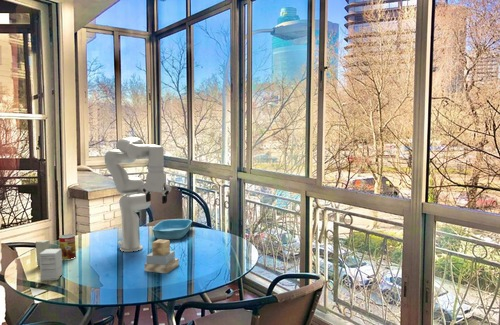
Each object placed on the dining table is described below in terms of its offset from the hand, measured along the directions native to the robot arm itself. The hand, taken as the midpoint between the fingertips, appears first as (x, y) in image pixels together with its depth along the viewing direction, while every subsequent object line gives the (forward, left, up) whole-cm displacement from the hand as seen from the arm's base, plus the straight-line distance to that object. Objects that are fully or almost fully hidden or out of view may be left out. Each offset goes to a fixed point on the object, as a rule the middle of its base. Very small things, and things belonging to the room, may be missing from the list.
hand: (156, 202), depth 207 cm
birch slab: (+9, -11, -31) cm, 34 cm away
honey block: (+9, -11, -23) cm, 27 cm away
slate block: (+8, -11, -27) cm, 30 cm away
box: (-50, -25, -31) cm, 64 cm away
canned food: (-48, -11, -31) cm, 58 cm away
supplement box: (-33, -37, -31) cm, 59 cm away
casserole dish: (-20, +50, -31) cm, 62 cm away
